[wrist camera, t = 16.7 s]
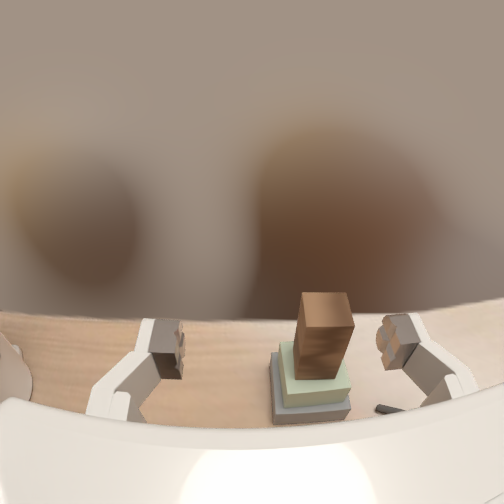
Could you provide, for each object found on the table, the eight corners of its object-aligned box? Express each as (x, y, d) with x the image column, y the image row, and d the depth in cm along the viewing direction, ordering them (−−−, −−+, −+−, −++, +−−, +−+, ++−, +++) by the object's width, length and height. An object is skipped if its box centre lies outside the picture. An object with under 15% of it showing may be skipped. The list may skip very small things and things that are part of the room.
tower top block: (284, 408, 37) (287, 394, 35) (277, 358, 44) (279, 342, 41) (343, 401, 38) (351, 387, 35) (331, 354, 44) (337, 338, 42)
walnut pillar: (295, 379, 36) (306, 326, 31) (292, 348, 40) (302, 292, 35) (335, 378, 36) (354, 326, 31) (330, 347, 40) (345, 292, 35)
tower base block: (273, 425, 39) (275, 414, 37) (269, 367, 47) (271, 352, 45) (343, 420, 39) (351, 408, 37) (332, 364, 47) (338, 350, 45)
